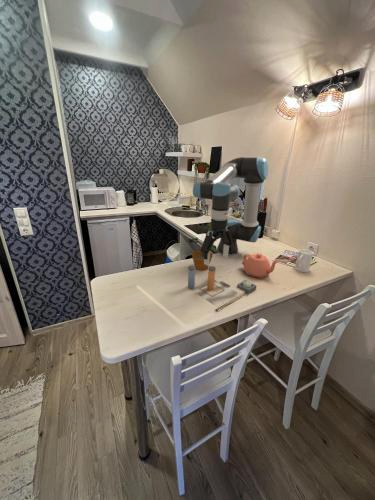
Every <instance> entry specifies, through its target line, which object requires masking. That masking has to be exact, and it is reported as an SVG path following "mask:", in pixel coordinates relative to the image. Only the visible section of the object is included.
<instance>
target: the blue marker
mask: <svg viewBox="0 0 375 500" xmlns="http://www.w3.org/2000/svg"><path fill="white" fill-rule="evenodd" d="M187 268H188V272H187V273H188V275H187V287H188V289H189V290H190V289H194V286H195V284H196V268H195V266H194V264H192V265H191V264H190V265H188V267H187Z"/></svg>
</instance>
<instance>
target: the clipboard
mask: <svg viewBox="0 0 375 500" xmlns="http://www.w3.org/2000/svg"><path fill="white" fill-rule="evenodd" d="M207 282H208V277H207V278H205V279H202V280H200V281H198V282H195V286H194V289H189V288H188V286H186V287H187V288H188V289H189V290H191V292H193V293H195V294H197V295H198V296H200V297H201V298H202V299H205V300H206V301H207V302H209V303H210V304H212V305H213V306H215V307H216V308H215V309H216V310H217V311H218V310H219V309H221V308H223V307H225V306H226V307H228V306H229V305H228V304H230V303H231V304H233V303H234V301H235V300H236V301H238V300H239V298H240V299H241V298H242V296H243V297H245V293H243V292H242V293H240V292H237V291H236V290H234V289H233V288H231V285H230V284H228V283H226V282H224V281H222V280H221V281H217V280H216V279H214V289H213V290H208V289H207ZM237 299H238V300H237ZM236 301H235V302H236ZM232 302H233V303H232ZM231 304H230V305H231ZM227 305H228V306H227ZM226 307H225V308H226ZM223 309H224V308H223ZM216 310H215V311H216ZM221 310H222V309H221ZM217 311H216V312H217ZM218 312H219V311H218Z"/></svg>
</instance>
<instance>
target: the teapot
mask: <svg viewBox="0 0 375 500" xmlns="http://www.w3.org/2000/svg"><path fill="white" fill-rule="evenodd" d="M278 262H280V260H273V261H272V263H270V261H269V259H268V257H267V256H265V255H263V254H262V253H259V252H258V253H252V254H250V253H245V254H244V256H243V261H242V265H243V267H242V268H243V270H244V272H245V273H246V274H247V275H249V276H250V277H253V278H265V277H267V276H268V275H270V274H271V273H273V272H274V271H275V267H276V264H277V263H278Z"/></svg>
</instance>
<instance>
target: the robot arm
mask: <svg viewBox="0 0 375 500" xmlns="http://www.w3.org/2000/svg"><path fill="white" fill-rule="evenodd" d="M268 174H269V162H268V160H267V158H265V157H242V156H241V157H236V158H233V159H231V160H229V161H227V162H226V163H224V164H222V167H221V169H218V171H216V172H215V173H214V174H213V175H211V176H209V178H208V179H206V180H205V181H204V182H201V181H200V182H199V181H198V182H195V183H194V184H193V187H192V194H193V196H194V198H197V199H204V200H211V214H210V218H211V219H210V224H211V227H212V230H211V229H210V230H211V231H207V230H206V231H207V232H206V231H205V232H206V233H205V238H204V240H203V243H202V244H201V245H202V246H201V248H200V249H199V250H200V251H201V252H203V253H204V264H205V265H207V266H208V267H210V264H209V259H210V253H211V252H210V251H211V250H212V249H211V247H212V246H213V245H215V244H214V243H215V242H216V241H217V240H218V239H220V241H219V243H218V244H217V247H216V250H217V252H218V253H220V254H222V257H224V258H228V257H229V256H230V255H236V254H237V253H239V248H238V241H243V242H247V243H256V242H257V240H259V236H260V235H261V230H262V226H261V225H260V222H259V221H258V211H259V203H260V195H261V186H262V184H264V181H265V180H267V178H268ZM234 178H235V179H236V178H237V179H243V183H244V184H245V192H244V194H245V195H244V206H243V207H244V208H243V209H244V210H243V220H241V221H240V220H239V219H233V218H232V219H229V209H230V203H231V202H233V201H235V200H237V199H238V198H239V196H240V193H241V190H240V187H239V186H238V185H236V184H233V183H230V182H228V181H229V180H232V179H234ZM211 227H210V228H211ZM237 240H238V241H237ZM209 252H210V253H209Z"/></svg>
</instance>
